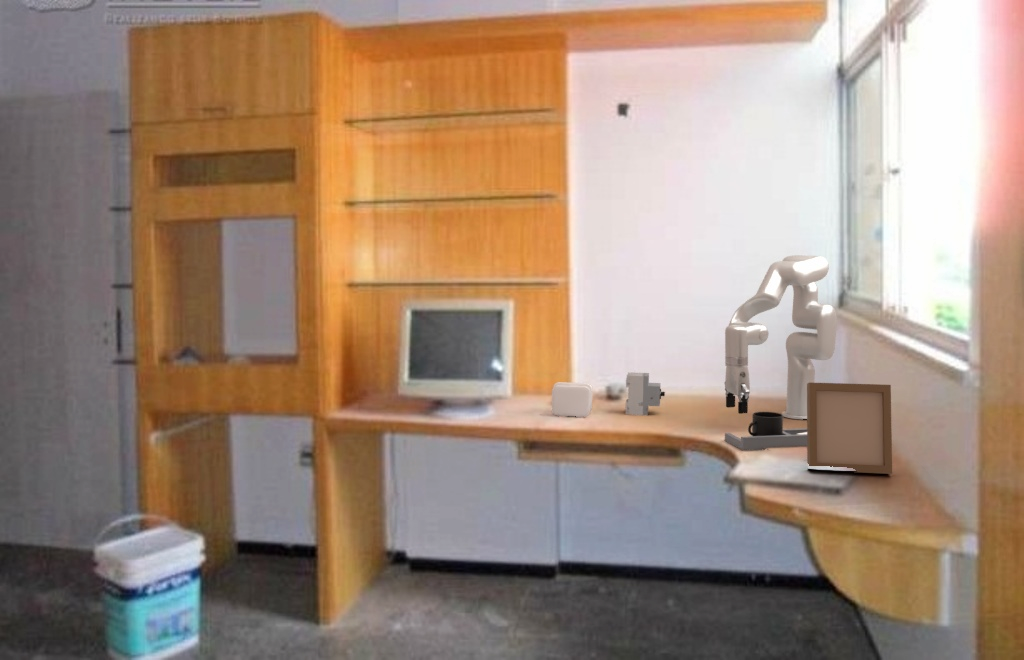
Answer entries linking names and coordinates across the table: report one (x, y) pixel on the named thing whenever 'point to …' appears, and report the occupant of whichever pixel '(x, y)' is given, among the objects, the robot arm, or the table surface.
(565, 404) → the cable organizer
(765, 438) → the organizer
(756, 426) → the mug
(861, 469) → the photo frame
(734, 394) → the robot arm
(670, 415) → the table surface
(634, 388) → the circuit breaker
